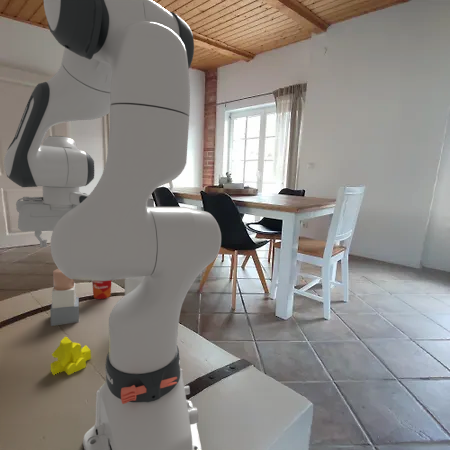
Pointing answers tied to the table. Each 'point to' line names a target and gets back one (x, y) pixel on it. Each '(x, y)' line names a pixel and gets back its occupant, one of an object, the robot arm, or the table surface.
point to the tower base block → (65, 314)
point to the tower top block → (64, 297)
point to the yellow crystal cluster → (70, 357)
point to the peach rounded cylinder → (62, 281)
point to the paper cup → (101, 289)
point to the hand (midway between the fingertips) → (63, 245)
